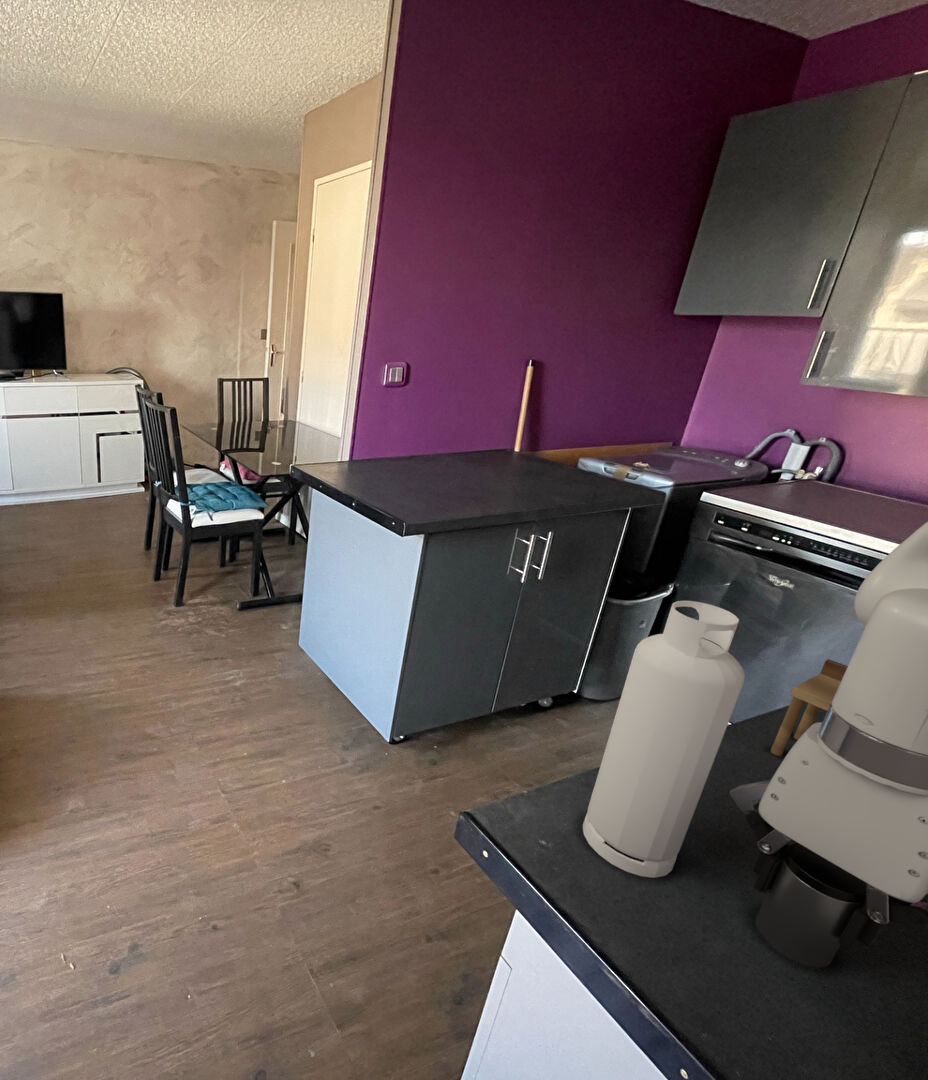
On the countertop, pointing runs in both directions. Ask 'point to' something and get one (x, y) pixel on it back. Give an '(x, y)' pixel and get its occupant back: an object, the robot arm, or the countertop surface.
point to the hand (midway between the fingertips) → (807, 909)
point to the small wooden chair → (809, 702)
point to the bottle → (664, 740)
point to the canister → (809, 907)
